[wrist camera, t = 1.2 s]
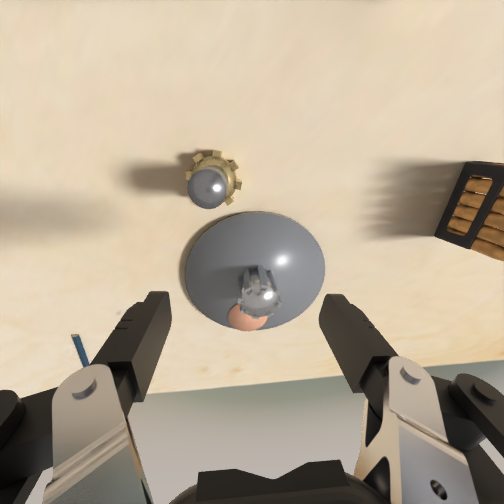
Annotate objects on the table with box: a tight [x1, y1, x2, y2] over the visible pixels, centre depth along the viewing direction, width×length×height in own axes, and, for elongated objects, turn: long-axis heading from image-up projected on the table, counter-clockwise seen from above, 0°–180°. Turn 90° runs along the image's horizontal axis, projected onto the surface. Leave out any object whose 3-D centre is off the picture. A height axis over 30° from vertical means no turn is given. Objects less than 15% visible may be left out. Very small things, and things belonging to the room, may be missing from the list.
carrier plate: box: [185, 211, 325, 331], centre depth 29 cm, size 22×22×6 cm
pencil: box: [72, 334, 89, 367], centre depth 38 cm, size 1×1×15 cm
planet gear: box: [186, 150, 242, 209], centre depth 21 cm, size 6×6×8 cm
